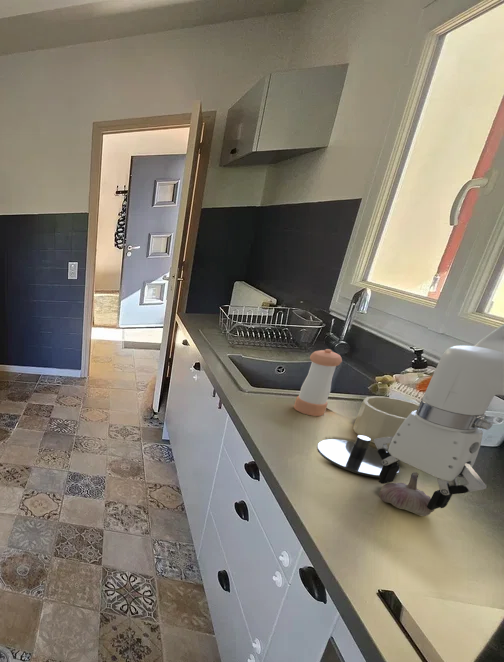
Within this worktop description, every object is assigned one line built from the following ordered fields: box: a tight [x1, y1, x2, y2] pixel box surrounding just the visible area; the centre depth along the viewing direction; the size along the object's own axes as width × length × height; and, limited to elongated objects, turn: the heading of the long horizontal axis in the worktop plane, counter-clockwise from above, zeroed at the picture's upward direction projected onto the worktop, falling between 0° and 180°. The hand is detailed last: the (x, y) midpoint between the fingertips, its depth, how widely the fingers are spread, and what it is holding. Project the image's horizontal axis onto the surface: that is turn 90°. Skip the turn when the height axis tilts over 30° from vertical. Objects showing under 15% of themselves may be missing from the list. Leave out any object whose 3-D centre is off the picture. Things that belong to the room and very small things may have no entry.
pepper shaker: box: [293, 348, 343, 417], centre depth 110 cm, size 7×7×19 cm
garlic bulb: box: [378, 471, 436, 517], centre depth 75 cm, size 8×7×8 cm
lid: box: [316, 434, 401, 479], centre depth 90 cm, size 15×15×6 cm
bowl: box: [352, 395, 420, 448], centre depth 98 cm, size 14×14×8 cm
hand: (408, 493), depth 75 cm, fingers closed on garlic bulb, 7 cm apart
